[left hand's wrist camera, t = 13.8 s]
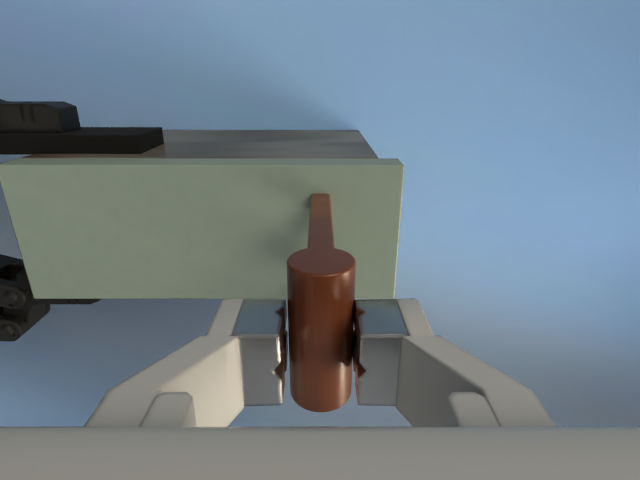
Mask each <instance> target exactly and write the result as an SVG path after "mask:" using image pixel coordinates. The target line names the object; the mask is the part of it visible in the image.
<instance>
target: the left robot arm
mask: <svg viewBox="0 0 640 480" xmlns="http://www.w3.org/2000/svg"><path fill="white" fill-rule="evenodd" d="M286 319H287V309H286V300H278V299H243V298H241V299H223V300H222V301H221V303H220V305H219V307H218V310H217V312H216V314H215V316H214V319H213V321H212V323H211V325H210V328H209V330H208V332H207V334H206V336H199V337H197V338H195V339H194V340H192V341H190V342H189V343H187V344H185V345H184V346H182V347H180V348H178V349H177V350H175V351H173V352H172V353H170V354H168V355H167V356H165V357H163V358H162V359H160V360H158V361H157V362H155V363H153V364H152V365H150V366H148V367H147V368H145V369H143V370H142V371H140V372H138V373H136V374H135V375H133V376H131V377H130V378H128V379H126V380H125V381H123V382H121V383H120V384H118V385H116V386H115V387H113V388H111V389H110V390H108V392H107V393H106V394H105V396H104V397H103V399H102V400H101V402H100V403H99V405H98V406H97V408H96V409H95V411H94V412H93V414H92V415H91V417H90V418H89V420H88V421H87V422H86V424H85V425H84V427H0V480H640V427H556V425H555V424H554V422H553V421H552V419H551V418H550V416H549V415H548V413H547V412H546V410H545V409H544V407H543V406H542V404H541V403H540V401H539V400H538V398H537V397H536V395H535V394H534V393H533V391H532V390H530V389H528V388H527V387H525V386H523V385H522V384H520V383H518V382H517V381H515V380H513V379H512V378H510V377H508V376H507V375H505V374H503V373H502V372H500V371H498V370H497V369H495V368H493V367H492V366H490V365H488V364H487V363H485V362H483V361H482V360H480V359H478V358H477V357H475V356H473V355H472V354H470V353H468V352H467V351H465V350H463V349H461V348H460V347H458V346H456V345H455V344H453V343H451V342H450V341H448V340H446V339H445V338H443V337H441V336H434V334H433V332H432V330H431V328H430V325H429V323H428V321H427V319H426V317H425V314H424V312H423V310H422V308H421V305H420V303H419V301H418V300H417V299H416V298H412V299H371V300H355V303H354V327H355V330H354V331H353V367H354V371H355V372H356V379H355V385H356V393H357V401H358V405H375V406H396V408H397V409H398V410H399V412H400V413H401V414H402V415H403V416H404V417H405V418H406V419H407V420H408V421H409V422H410V424H411V425H412V426H413V427H227V426H228V425H229V424H230V423H231V422H232V421H233V420H234V418H235V417H236V416H237V415H238V414H239V413H240V412H241V411H242V410H243V409H244V406H264V405H282V402H283V394H284V385H285V378H284V372H285V371H286V368H287V353H288V334H287V331H286V329H285V327H286Z"/></svg>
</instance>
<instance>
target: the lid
mask: <svg viewBox="0 0 640 480" xmlns="http://www.w3.org/2000/svg"><path fill="white" fill-rule="evenodd" d="M403 178H404V165H403V164H402V163H401V162H400V160H399V159H254V158H18V159H15V160H11V161H8V162H4V163H1V164H0V184H1V187H2V191H3V194H4V198H5V201H6V204H7V208H8V211H9V215H10V218H11V222H12V225H13V228H14V232H15V235H16V239H17V242H18V246H19V249H20V252H21V256H22V259H23V263H24V266H25V270H26V273H27V276H28V280H29V283H30V287H31V290H32V294H33V297H34V298H35V299H241V298H243V299H288V327H289V359H290V390H291V395H292V397H293V399H294V401H295V402H296V403H297V404H298V405H299V406H301V407H302V408H304V409H307V410H310V411H314V412H328V411H332V410H335V409H338V408H340V407H341V406H343V405H344V404H345V403H346V402H347V400H348V399H349V397H350V395H351V384H352V357H353V330H354V303H355V299H393V298H394V295H395V282H396V269H397V256H398V243H399V230H400V217H401V204H402V191H403Z"/></svg>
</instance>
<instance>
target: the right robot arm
mask: <svg viewBox="0 0 640 480" xmlns="http://www.w3.org/2000/svg"><path fill="white" fill-rule="evenodd" d="M162 144H164V138H163V131H162V127H80V123H79V118H78V113H77V108H76V106H74V105H71V104H69V103H66V102H10V101H4V100H1V99H0V154H142V153H144V152H146V151H149V150H151V149H153V148H155V147H158V146H160V145H162ZM99 300H100V299H35V298H34V297H33V294H32V290H31V287H30V283H29V280H28V276H27V273H26V270H25V266H24V263H23V260H21V259H17V258H13V257H9V256H5V255H0V341H15V340H17V339H18V338H20V337H21V336H22V335H23V334H24V333H25V332H26V331H28V330H29V329H30V328H31V327H32V326H33V325H35V324H36V323H37V322H38V321H39V320H40V319H41V318H43V317H44V316H45V315H46V314H47V313H48V312H49V310H50V304H92V303H94V302H97V301H99Z"/></svg>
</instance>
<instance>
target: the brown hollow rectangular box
mask: <svg viewBox="0 0 640 480" xmlns="http://www.w3.org/2000/svg"><path fill="white" fill-rule="evenodd" d="M162 131H163V138H164V144H162V145H160V146H158V147H155V148H153V149H151V150H149V151H146V152H144V153H142V154H33V155H30V156H26V157H23V158H254V159H379V158H378V157H377V155H376V154H375V153H374V151H373V150H372V148H371V147H370V146H369V144H368V143H367V141H366V140H365V138H364V137H363V136H362V134H361V133H360V131H359V130H162Z"/></svg>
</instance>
